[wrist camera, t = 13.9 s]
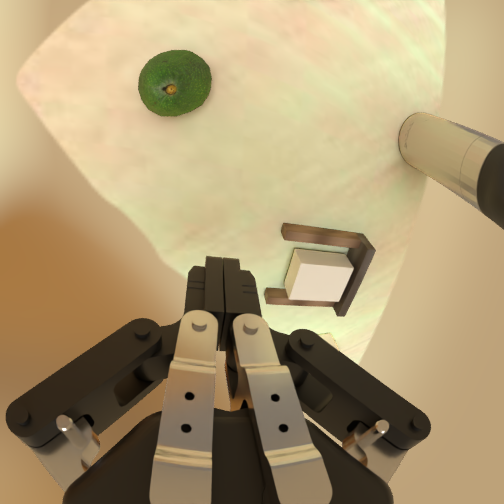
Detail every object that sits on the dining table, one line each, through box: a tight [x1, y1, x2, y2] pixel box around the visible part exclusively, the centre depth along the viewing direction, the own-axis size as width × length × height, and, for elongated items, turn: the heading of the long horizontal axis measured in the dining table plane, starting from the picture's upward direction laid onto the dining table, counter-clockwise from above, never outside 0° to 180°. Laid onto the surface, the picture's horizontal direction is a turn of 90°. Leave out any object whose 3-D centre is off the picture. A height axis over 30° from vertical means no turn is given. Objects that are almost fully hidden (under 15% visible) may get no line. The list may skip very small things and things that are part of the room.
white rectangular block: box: [284, 249, 354, 302], centre depth 46 cm, size 9×7×5 cm
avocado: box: [138, 50, 212, 116], centre depth 26 cm, size 8×8×12 cm
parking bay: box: [264, 223, 376, 316], centre depth 46 cm, size 14×14×5 cm
